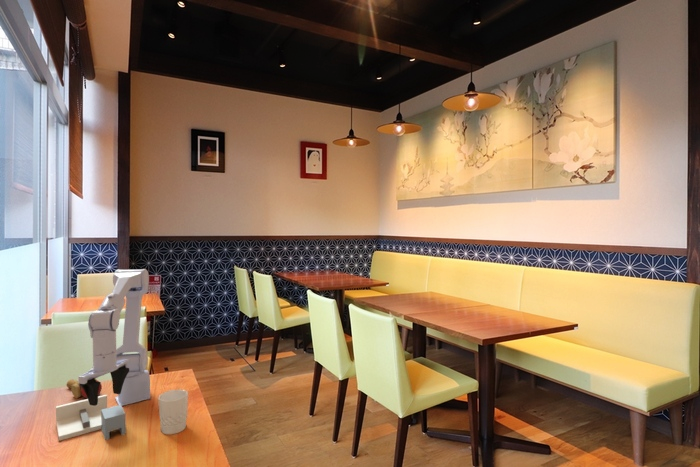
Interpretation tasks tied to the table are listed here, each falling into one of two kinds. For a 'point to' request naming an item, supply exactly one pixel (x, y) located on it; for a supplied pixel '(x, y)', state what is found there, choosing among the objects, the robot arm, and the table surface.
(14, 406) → the table surface
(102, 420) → the block
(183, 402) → the white cup
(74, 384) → the kendama
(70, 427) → the board
